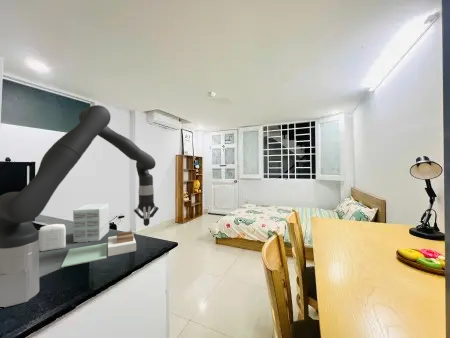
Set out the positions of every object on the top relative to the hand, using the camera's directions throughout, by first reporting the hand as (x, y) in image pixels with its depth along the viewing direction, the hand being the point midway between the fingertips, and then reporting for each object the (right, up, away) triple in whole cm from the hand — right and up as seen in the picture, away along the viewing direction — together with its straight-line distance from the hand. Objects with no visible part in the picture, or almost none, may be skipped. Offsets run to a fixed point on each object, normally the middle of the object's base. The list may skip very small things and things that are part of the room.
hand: (146, 225), depth 107 cm
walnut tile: (-9, -4, -5) cm, 11 cm away
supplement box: (-36, -10, +10) cm, 39 cm away
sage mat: (-23, -10, -13) cm, 28 cm away
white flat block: (-10, -10, -6) cm, 15 cm away
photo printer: (-44, -10, -7) cm, 46 cm away
